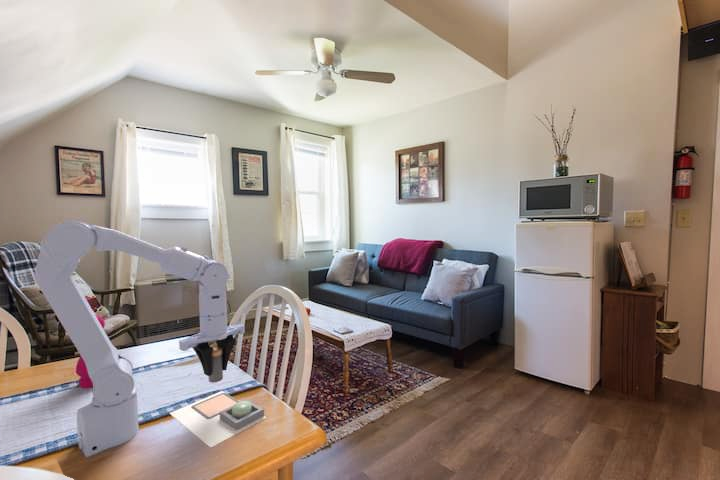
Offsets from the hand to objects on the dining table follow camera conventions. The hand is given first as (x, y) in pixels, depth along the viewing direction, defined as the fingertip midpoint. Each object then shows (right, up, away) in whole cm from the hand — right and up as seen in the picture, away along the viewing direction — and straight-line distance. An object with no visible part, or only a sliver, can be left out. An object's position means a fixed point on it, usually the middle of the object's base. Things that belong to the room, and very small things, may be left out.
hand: (215, 371), depth 78 cm
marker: (0, -2, 0) cm, 2 cm away
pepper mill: (-39, -9, +14) cm, 42 cm away
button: (+8, -7, -4) cm, 11 cm away
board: (+2, -9, -4) cm, 10 cm away
